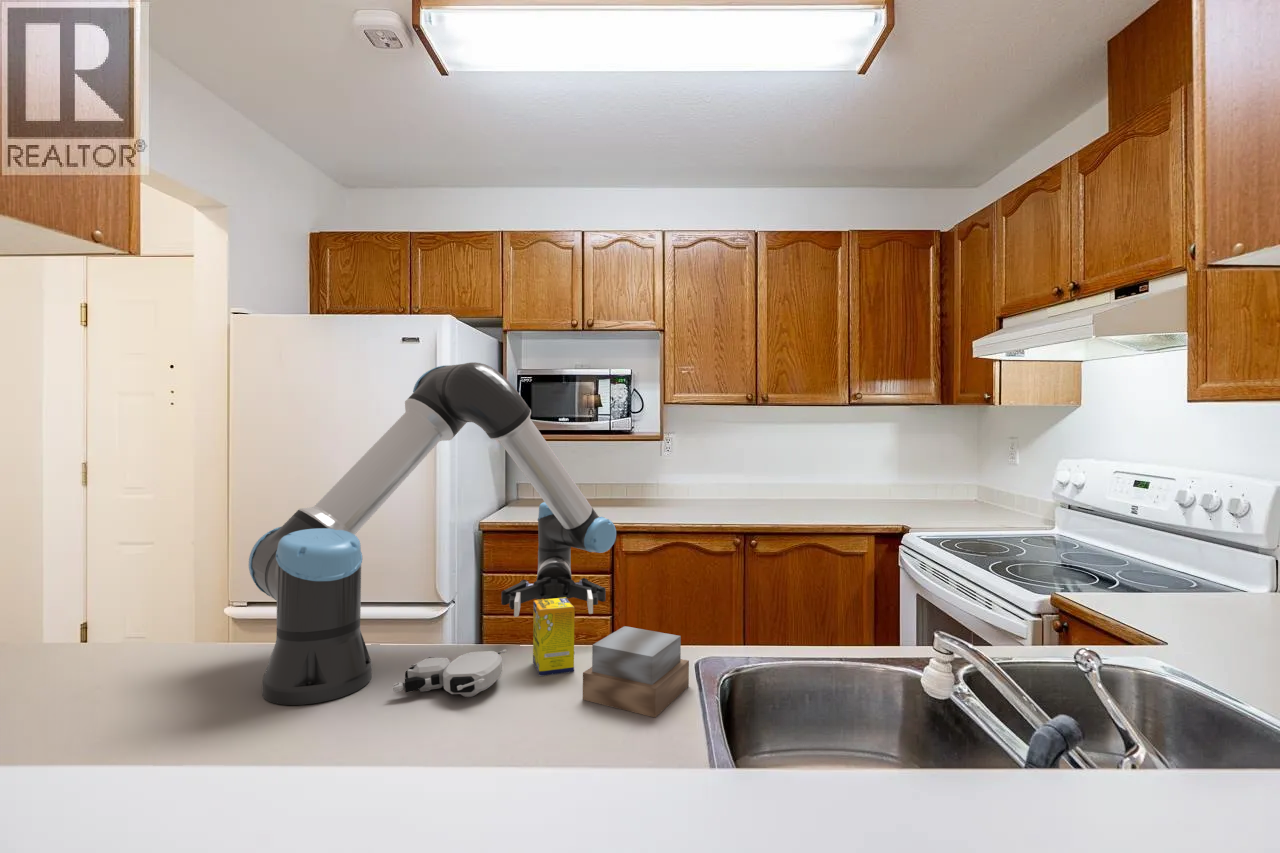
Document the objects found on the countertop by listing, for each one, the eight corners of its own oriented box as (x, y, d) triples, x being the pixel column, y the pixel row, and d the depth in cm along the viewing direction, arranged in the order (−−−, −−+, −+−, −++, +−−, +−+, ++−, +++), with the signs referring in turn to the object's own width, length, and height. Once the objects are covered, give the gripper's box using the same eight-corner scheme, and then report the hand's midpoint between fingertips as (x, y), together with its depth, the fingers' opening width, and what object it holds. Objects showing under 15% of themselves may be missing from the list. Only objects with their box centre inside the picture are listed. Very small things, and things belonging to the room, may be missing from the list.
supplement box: (532, 663, 106) (532, 599, 106) (566, 659, 108) (566, 596, 108) (538, 677, 100) (539, 609, 100) (574, 672, 102) (575, 606, 102)
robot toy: (388, 710, 90) (489, 706, 89) (386, 679, 90) (487, 674, 89) (422, 676, 102) (511, 672, 101) (421, 649, 102) (510, 645, 102)
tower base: (582, 699, 92) (583, 645, 92) (621, 671, 103) (622, 623, 103) (655, 717, 86) (655, 660, 86) (688, 686, 97) (689, 635, 97)
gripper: (611, 594, 137) (621, 625, 116) (495, 598, 133) (484, 631, 112) (611, 560, 137) (621, 585, 115) (495, 563, 133) (484, 589, 112)
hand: (553, 607), depth 114 cm, fingers open, 13 cm apart
